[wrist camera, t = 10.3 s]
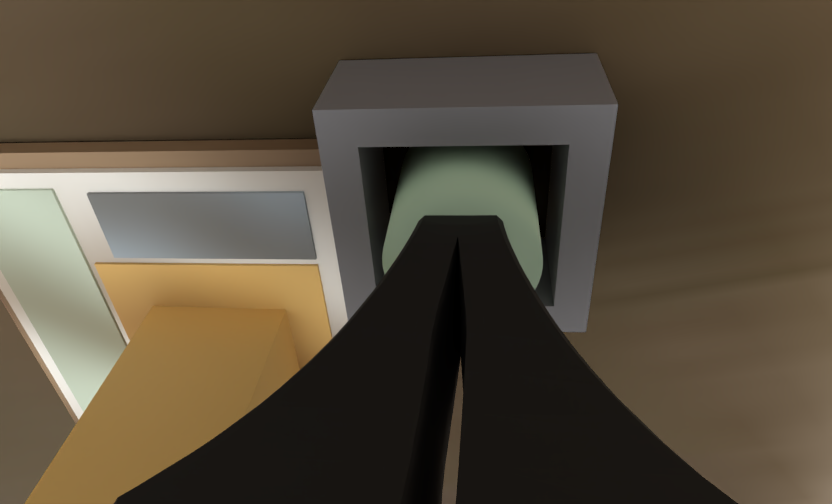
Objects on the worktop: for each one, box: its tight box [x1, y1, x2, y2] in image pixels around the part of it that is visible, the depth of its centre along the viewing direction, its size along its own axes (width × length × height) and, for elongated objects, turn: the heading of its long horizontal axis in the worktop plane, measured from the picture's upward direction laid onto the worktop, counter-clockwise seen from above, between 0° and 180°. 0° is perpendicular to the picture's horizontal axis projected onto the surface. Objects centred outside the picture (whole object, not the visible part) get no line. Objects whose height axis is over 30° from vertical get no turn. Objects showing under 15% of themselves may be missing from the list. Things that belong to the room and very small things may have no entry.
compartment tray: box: [0, 139, 348, 424], centre depth 16 cm, size 10×10×1 cm
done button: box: [382, 145, 543, 290], centre depth 12 cm, size 3×3×3 cm
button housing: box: [312, 53, 618, 332], centre depth 13 cm, size 5×5×2 cm
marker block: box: [25, 306, 300, 504], centre depth 14 cm, size 4×4×6 cm
